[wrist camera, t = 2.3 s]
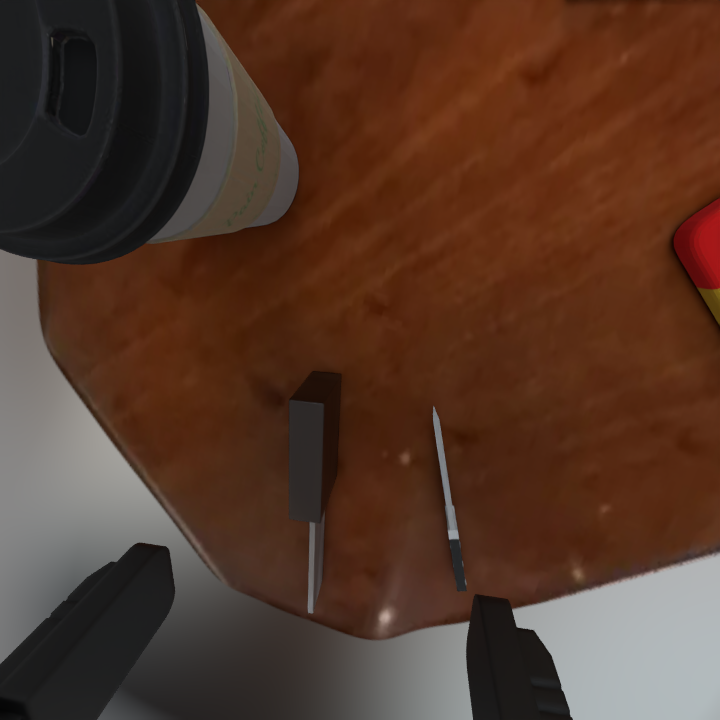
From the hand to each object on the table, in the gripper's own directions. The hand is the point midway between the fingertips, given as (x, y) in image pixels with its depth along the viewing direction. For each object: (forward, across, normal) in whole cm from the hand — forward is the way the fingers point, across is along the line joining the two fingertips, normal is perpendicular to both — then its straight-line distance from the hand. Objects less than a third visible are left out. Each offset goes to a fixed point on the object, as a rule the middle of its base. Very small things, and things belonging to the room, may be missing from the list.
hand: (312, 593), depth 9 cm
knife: (+16, -6, +8) cm, 19 cm away
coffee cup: (+16, +8, -12) cm, 22 cm away
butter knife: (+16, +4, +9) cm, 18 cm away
